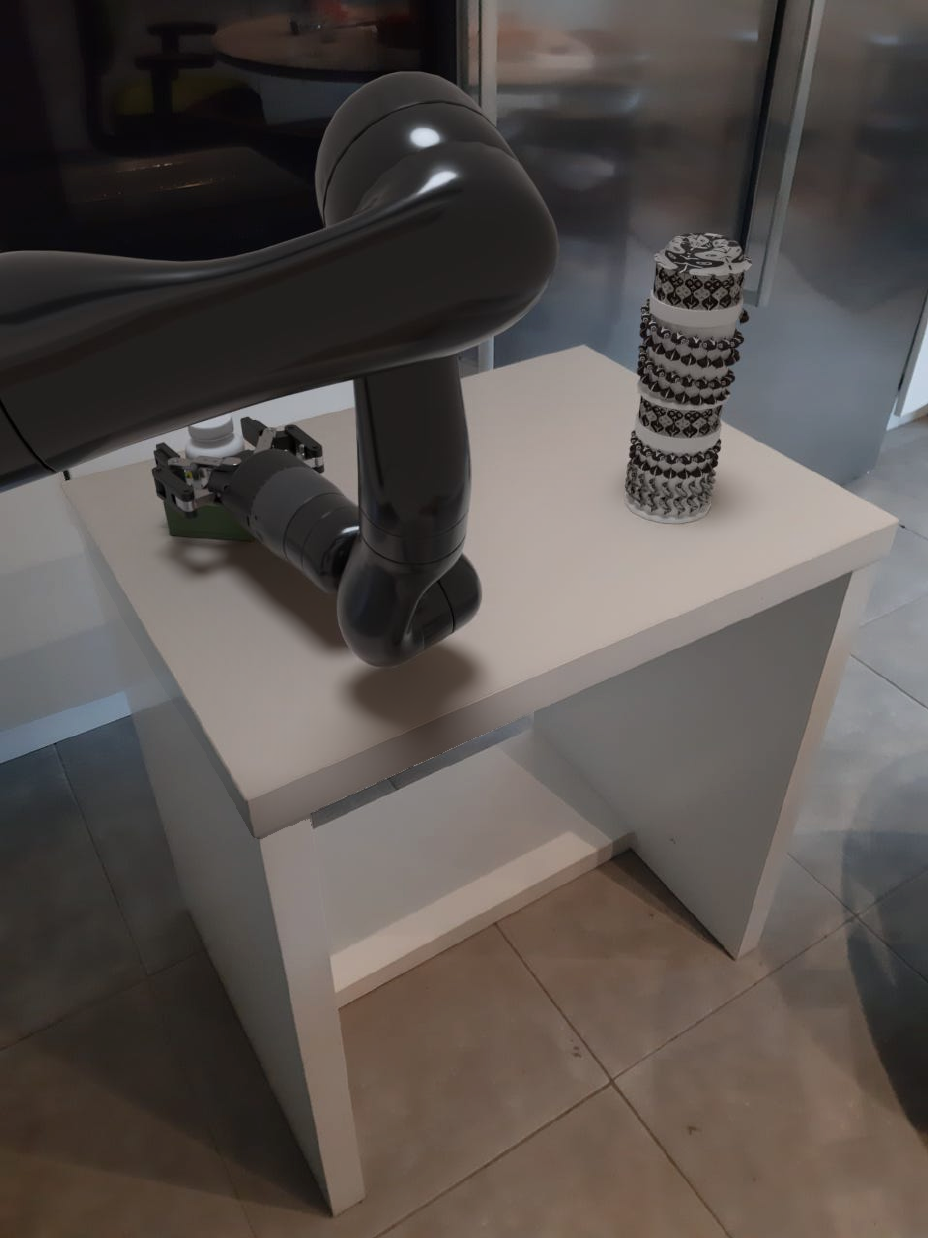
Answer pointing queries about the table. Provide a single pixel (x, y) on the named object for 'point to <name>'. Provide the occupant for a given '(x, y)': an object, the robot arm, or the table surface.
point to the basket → (206, 523)
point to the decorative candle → (685, 376)
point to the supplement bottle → (213, 440)
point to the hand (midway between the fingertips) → (203, 439)
